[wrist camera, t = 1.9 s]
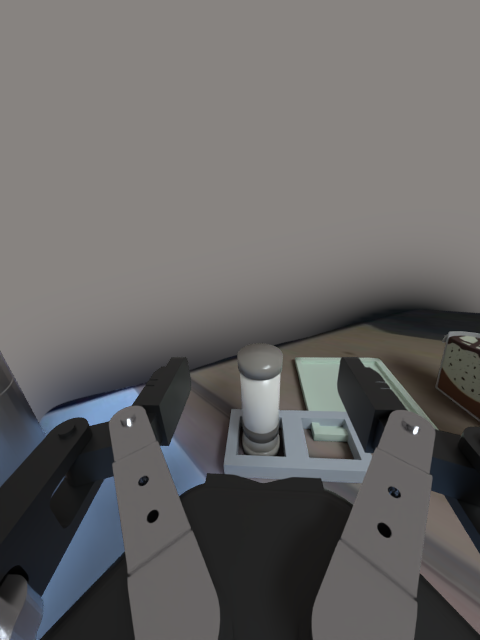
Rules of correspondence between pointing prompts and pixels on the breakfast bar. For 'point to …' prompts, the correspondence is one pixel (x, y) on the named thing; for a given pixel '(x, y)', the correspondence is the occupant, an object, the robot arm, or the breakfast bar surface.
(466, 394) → the food container
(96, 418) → the breakfast bar surface
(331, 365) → the tray
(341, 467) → the fuse block
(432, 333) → the breakfast bar surface
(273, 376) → the grey-capped white cylinder
